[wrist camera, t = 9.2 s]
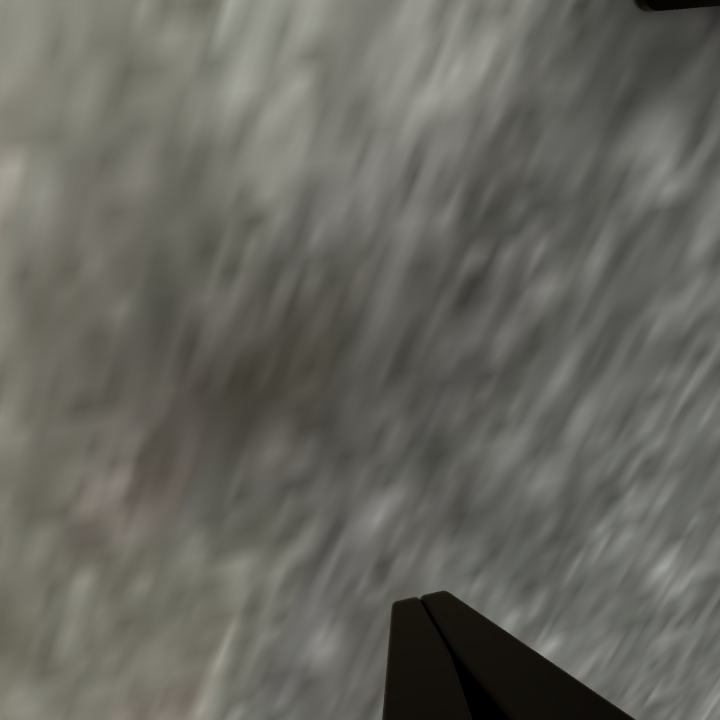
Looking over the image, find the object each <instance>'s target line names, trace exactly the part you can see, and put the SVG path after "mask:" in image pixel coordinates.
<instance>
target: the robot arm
mask: <svg viewBox="0 0 720 720" xmlns="http://www.w3.org/2000/svg"><path fill="white" fill-rule="evenodd" d="M637 2H638V4H639V7H640V8H642V9H643V10H644V11H661V10H674V9H687V8H699V7H712V6H720V0H637ZM382 720H635V719H634V718H632V717H631V716H629V715H628V714H627V713H625V712H624V711H622V710H621V709H619V708H618V707H616V706H615V705H613V704H612V703H610V702H609V701H607V700H606V699H605V698H603V697H602V696H600V695H599V694H597V693H596V692H594V691H593V690H591V689H590V688H588V687H587V686H585V685H584V684H583V683H581V682H580V681H578V680H577V679H575V678H574V677H572V676H571V675H569V674H568V673H566V672H565V671H563V670H562V669H561V668H559V667H558V666H556V665H555V664H553V663H552V662H550V661H549V660H547V659H546V658H544V657H543V656H542V655H540V654H539V653H537V652H536V651H534V650H533V649H531V648H530V647H528V646H527V645H525V644H524V643H522V642H521V641H520V640H518V639H517V638H515V637H514V636H512V635H511V634H509V633H508V632H506V631H505V630H503V629H502V628H500V627H499V626H498V625H496V624H495V623H493V622H492V621H490V620H489V619H487V618H486V617H484V616H483V615H481V614H480V613H478V612H477V611H476V610H474V609H473V608H471V607H470V606H468V605H467V604H465V603H464V602H462V601H461V600H459V599H458V598H456V597H455V596H454V595H452V594H451V593H449V592H447V591H439V592H435V593H430V594H426V595H423V596H422V597H421V598H420V599H419V598H417V597H413V598H408V599H404V600H400V601H396V602H394V603H393V605H392V611H391V623H390V635H389V646H388V658H387V670H386V681H385V693H384V705H383V717H382Z"/></svg>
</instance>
